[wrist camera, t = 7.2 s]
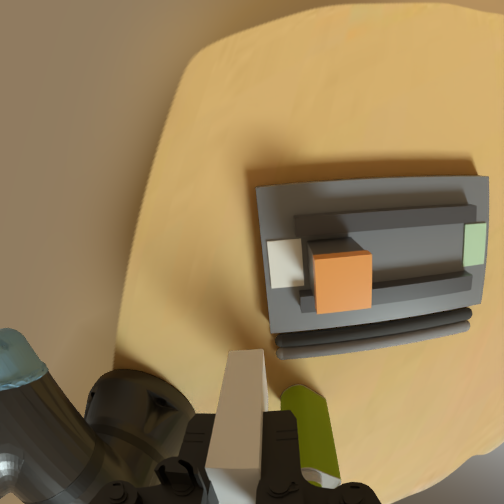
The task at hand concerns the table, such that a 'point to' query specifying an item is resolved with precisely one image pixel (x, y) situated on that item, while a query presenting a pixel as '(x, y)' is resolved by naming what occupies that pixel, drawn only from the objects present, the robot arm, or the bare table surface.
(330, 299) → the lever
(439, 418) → the table surface
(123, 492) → the robot arm
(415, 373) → the table surface
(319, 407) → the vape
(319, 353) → the grey twin rods
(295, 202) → the panel
